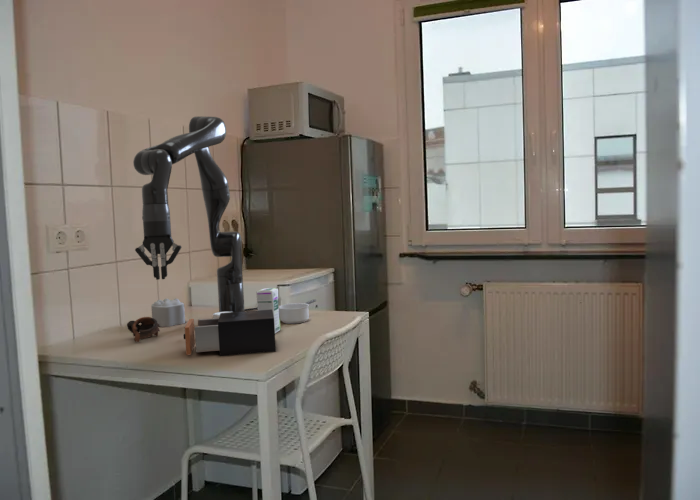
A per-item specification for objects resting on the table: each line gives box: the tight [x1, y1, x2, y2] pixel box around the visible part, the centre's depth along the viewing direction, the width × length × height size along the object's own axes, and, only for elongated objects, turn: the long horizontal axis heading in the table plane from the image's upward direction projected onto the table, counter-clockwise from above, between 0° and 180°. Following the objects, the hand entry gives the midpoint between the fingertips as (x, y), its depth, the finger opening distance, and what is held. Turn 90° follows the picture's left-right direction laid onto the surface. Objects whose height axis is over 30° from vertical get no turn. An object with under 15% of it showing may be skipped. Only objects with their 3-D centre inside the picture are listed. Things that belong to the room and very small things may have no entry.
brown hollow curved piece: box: [126, 316, 161, 343], centre depth 183 cm, size 12×10×8 cm
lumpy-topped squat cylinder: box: [150, 298, 186, 328], centre depth 208 cm, size 10×13×9 cm
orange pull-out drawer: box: [182, 317, 220, 356], centre depth 164 cm, size 16×13×8 cm
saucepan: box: [279, 299, 317, 325], centre depth 206 cm, size 12×20×6 cm, turn 150°
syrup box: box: [255, 287, 282, 335], centre depth 186 cm, size 6×6×14 cm
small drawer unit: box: [218, 309, 277, 357], centre depth 166 cm, size 16×14×10 cm
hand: (160, 278), depth 163 cm, fingers closed
